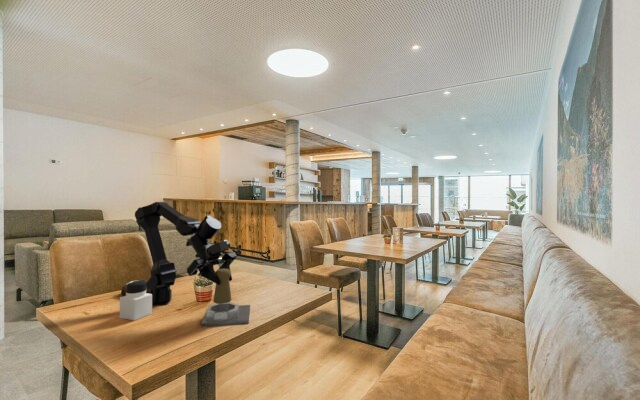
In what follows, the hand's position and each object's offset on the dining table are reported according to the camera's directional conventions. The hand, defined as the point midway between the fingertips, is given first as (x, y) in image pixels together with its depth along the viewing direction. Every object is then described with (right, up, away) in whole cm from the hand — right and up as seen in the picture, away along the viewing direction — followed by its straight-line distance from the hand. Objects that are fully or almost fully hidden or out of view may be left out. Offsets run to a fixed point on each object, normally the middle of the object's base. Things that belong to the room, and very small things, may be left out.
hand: (225, 282), depth 104 cm
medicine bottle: (-32, -12, +2) cm, 34 cm away
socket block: (0, -12, +2) cm, 13 cm away
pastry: (-47, -13, +27) cm, 55 cm away
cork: (-1, -7, +1) cm, 7 cm away
